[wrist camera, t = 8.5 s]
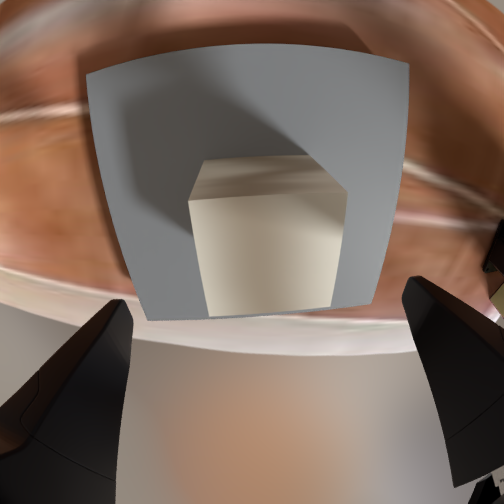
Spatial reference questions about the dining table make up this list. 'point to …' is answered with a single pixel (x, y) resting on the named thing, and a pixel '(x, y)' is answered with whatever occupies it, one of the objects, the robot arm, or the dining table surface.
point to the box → (499, 300)
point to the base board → (245, 152)
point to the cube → (267, 233)
